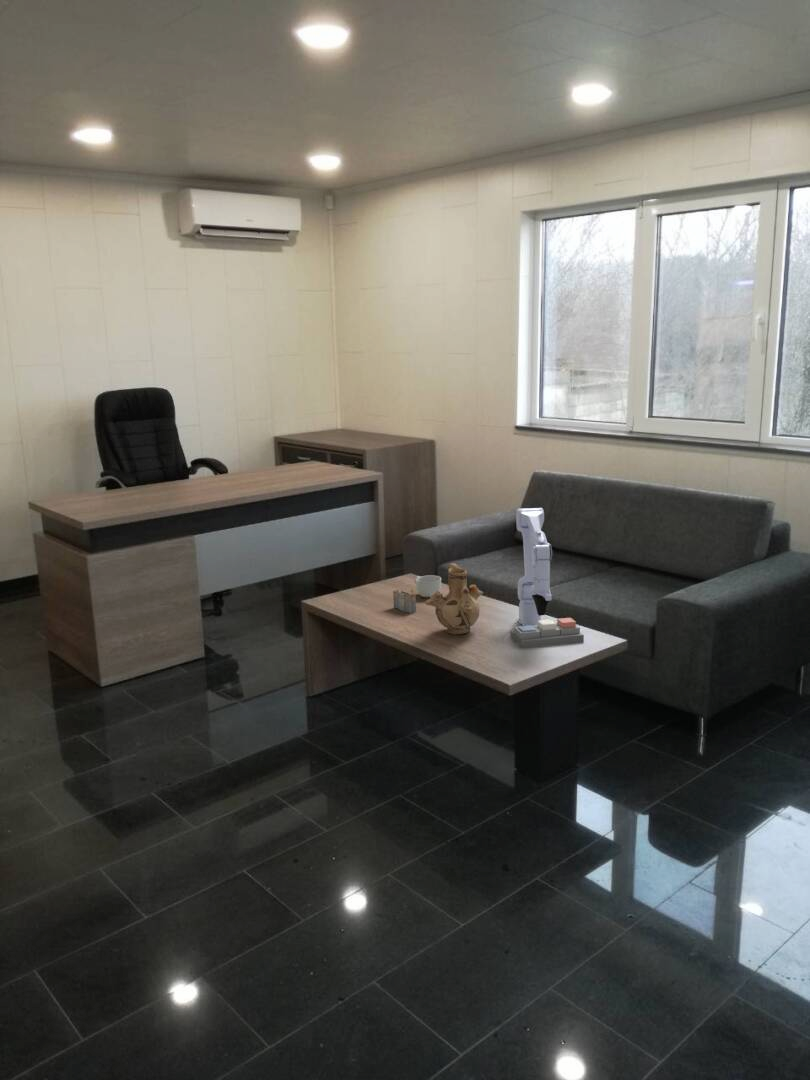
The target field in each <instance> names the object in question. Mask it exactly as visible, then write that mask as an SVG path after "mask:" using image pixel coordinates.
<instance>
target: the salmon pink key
mask: <svg viewBox="0 0 810 1080" xmlns="http://www.w3.org/2000/svg"><path fill="white" fill-rule="evenodd" d="M556 623H557V625H558V626H559V627H561V628H562V629H563V628H573V627H576V625H577V621H575V620H574V618H572V617H564V618H563V617H562V618H557V619H556Z"/></svg>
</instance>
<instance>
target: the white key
mask: <svg viewBox="0 0 810 1080" xmlns="http://www.w3.org/2000/svg"><path fill="white" fill-rule="evenodd" d="M556 623H557V622H555V621H553V620H552V619H541V620H540V621H538V627H539V628H540V629H541V630H542V631H543V630H553V629H556Z"/></svg>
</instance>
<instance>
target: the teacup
mask: <svg viewBox="0 0 810 1080" xmlns="http://www.w3.org/2000/svg"><path fill="white" fill-rule="evenodd" d="M414 583H415V585H416V592H417V594H418V595H419V596H421V598H423V597H432V596H433V595H434V594H435V592H436V591H438V592H440V593H441V592H442V577H441V576H439V575H434V574H433V575H431V574H430V575H423V576H422V575H421V576H419V575H417V576H415V577H414Z"/></svg>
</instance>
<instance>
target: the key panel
mask: <svg viewBox="0 0 810 1080" xmlns="http://www.w3.org/2000/svg"><path fill="white" fill-rule="evenodd" d="M555 623H556V629H553V630H543V631H542V630H541V629H540V628H539V627H538V625H534V626H533V627H534V628H535V629H536V631H532V632H521V631H520V630H519V629H518V627H519V626H514V627H513V630H510V639H512V640H513V641H514V642H515V643H516V644H518V645H519V647H521V649H526V648H534V647H545V646H553V645H562V644H563V645H564V644H565V645H566V644H572V643H573V644H574V643H581V642H582V643H583V642H584V640H585V639H584V638H585V637H584V636H585V635H584V634H583V633H582V632H581V628H580V626H578V625H577V624H576V627H573V628H563V629H562V628H561V627H559V626H558V625H557V622H555Z"/></svg>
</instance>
